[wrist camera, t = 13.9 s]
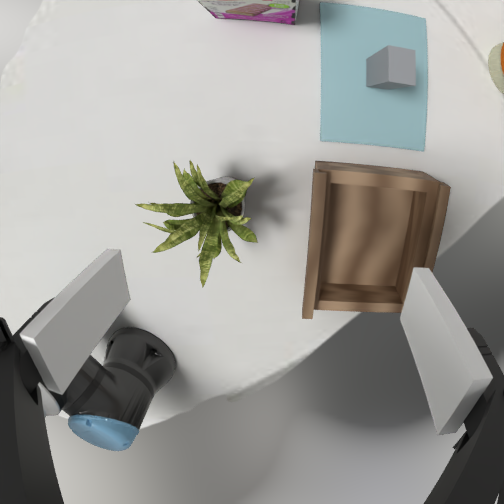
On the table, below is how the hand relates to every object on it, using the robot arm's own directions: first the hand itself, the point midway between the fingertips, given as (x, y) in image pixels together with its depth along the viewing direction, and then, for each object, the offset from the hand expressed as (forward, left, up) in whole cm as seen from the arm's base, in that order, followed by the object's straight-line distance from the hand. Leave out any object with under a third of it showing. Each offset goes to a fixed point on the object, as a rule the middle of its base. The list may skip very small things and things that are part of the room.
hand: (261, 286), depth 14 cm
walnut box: (+12, -10, -33) cm, 36 cm away
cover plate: (+12, +13, -33) cm, 38 cm away
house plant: (-8, -4, -33) cm, 34 cm away
